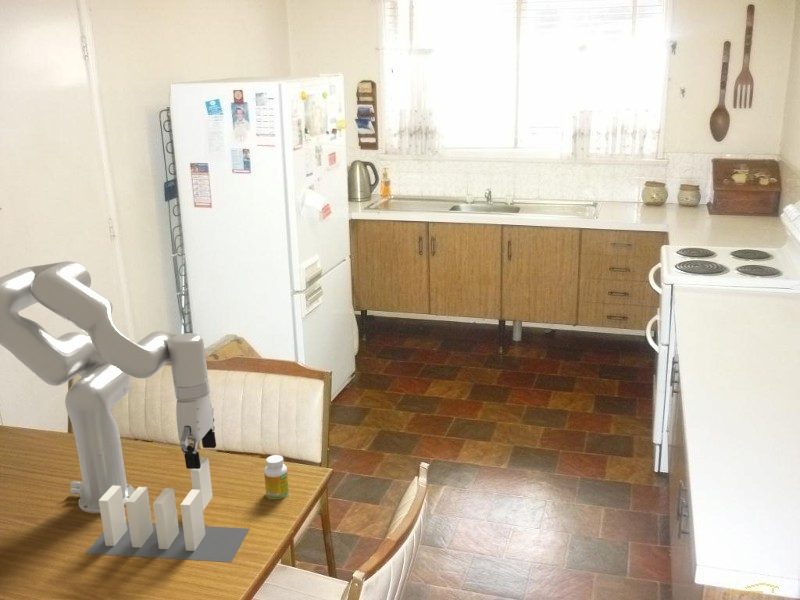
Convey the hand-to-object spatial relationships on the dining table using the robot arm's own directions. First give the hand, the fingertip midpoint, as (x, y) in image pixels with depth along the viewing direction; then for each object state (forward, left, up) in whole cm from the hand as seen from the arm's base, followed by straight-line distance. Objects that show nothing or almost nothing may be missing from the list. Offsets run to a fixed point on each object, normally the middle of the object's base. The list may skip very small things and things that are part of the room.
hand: (201, 457), depth 175 cm
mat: (-3, -15, -13) cm, 20 cm away
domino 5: (+3, -15, -12) cm, 19 cm away
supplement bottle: (+15, +6, -13) cm, 21 cm away
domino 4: (-1, 0, -13) cm, 13 cm away
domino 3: (-3, -15, -12) cm, 19 cm away
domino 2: (-9, -15, -12) cm, 21 cm away
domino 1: (-15, -15, -12) cm, 24 cm away
